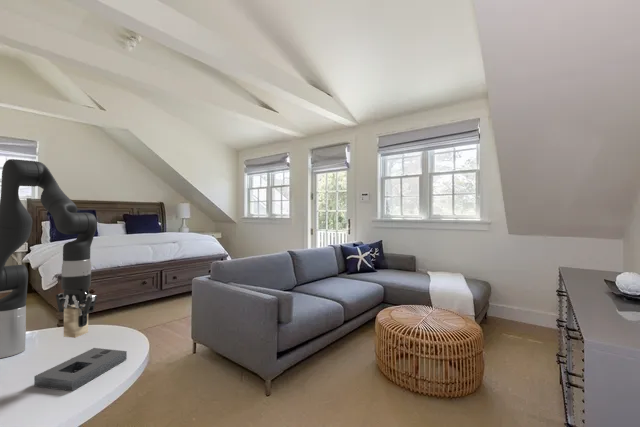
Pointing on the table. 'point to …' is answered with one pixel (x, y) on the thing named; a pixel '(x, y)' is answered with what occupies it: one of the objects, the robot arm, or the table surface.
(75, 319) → the maple block
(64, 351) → the table surface
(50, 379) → the metal socket plate
